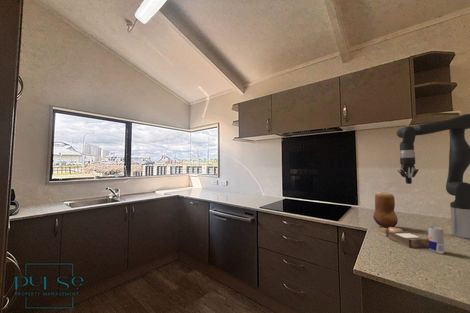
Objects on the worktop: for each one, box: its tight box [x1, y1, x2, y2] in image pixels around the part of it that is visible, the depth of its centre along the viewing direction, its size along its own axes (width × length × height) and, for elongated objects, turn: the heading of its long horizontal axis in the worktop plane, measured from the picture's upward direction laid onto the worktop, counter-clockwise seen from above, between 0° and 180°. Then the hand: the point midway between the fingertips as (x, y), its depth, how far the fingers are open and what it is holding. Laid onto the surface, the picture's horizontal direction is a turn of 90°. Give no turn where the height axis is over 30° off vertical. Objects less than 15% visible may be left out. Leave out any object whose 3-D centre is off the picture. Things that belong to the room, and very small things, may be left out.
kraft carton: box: [396, 232, 422, 239], centre depth 110 cm, size 9×7×4 cm
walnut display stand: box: [388, 231, 429, 249], centre depth 110 cm, size 12×12×4 cm
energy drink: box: [427, 225, 445, 255], centre depth 99 cm, size 5×5×12 cm
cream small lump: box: [388, 226, 404, 232], centre depth 122 cm, size 7×7×4 cm
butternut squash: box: [372, 191, 399, 229], centre depth 137 cm, size 14×13×25 cm
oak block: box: [378, 227, 389, 237], centre depth 123 cm, size 4×4×4 cm
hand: (408, 183), depth 126 cm, fingers closed
